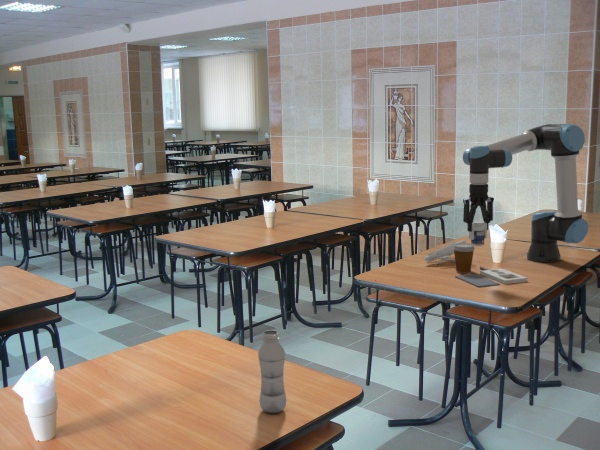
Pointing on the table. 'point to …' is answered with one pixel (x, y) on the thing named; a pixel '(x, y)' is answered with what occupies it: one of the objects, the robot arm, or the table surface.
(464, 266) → the disposable coffee cup
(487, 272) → the socket strip
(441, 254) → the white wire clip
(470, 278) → the rubber mat
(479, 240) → the pill bottle
